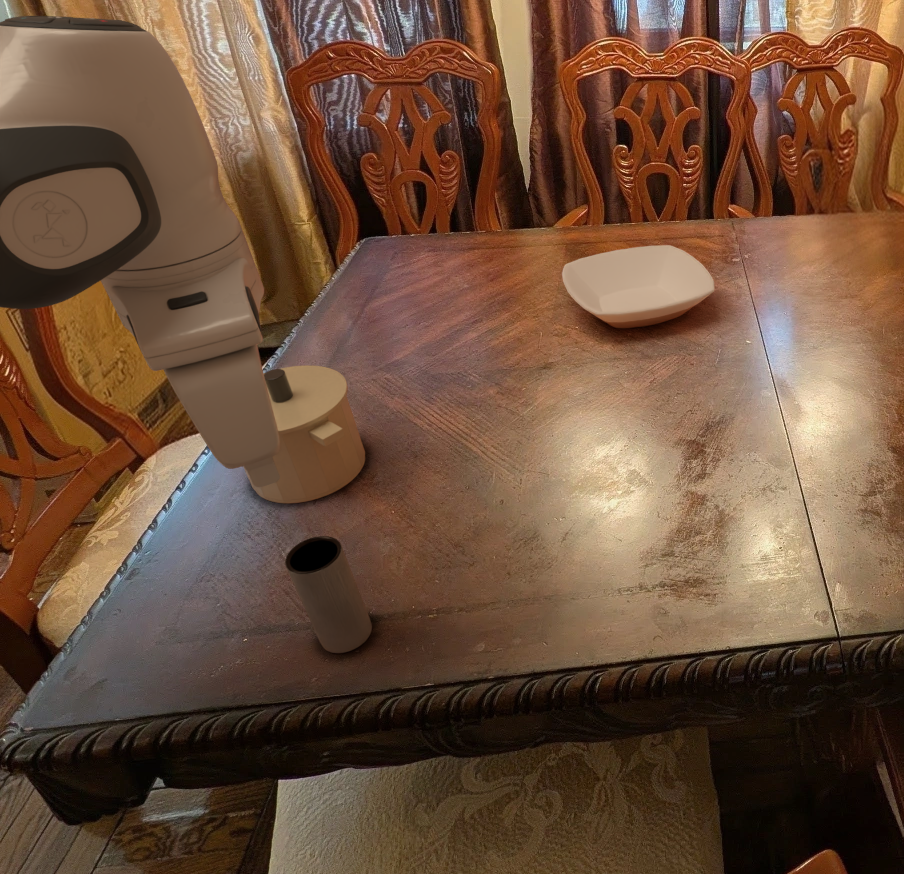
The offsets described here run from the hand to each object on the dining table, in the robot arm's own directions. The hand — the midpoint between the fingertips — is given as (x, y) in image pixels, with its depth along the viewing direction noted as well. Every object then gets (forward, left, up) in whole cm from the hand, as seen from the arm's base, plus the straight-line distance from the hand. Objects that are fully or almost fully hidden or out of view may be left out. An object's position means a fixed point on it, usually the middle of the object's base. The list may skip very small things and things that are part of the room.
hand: (257, 446), depth 62 cm
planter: (0, -2, -21) cm, 21 cm away
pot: (+12, +23, -21) cm, 34 cm away
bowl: (+65, +17, -21) cm, 71 cm away
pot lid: (+12, +23, -11) cm, 29 cm away
